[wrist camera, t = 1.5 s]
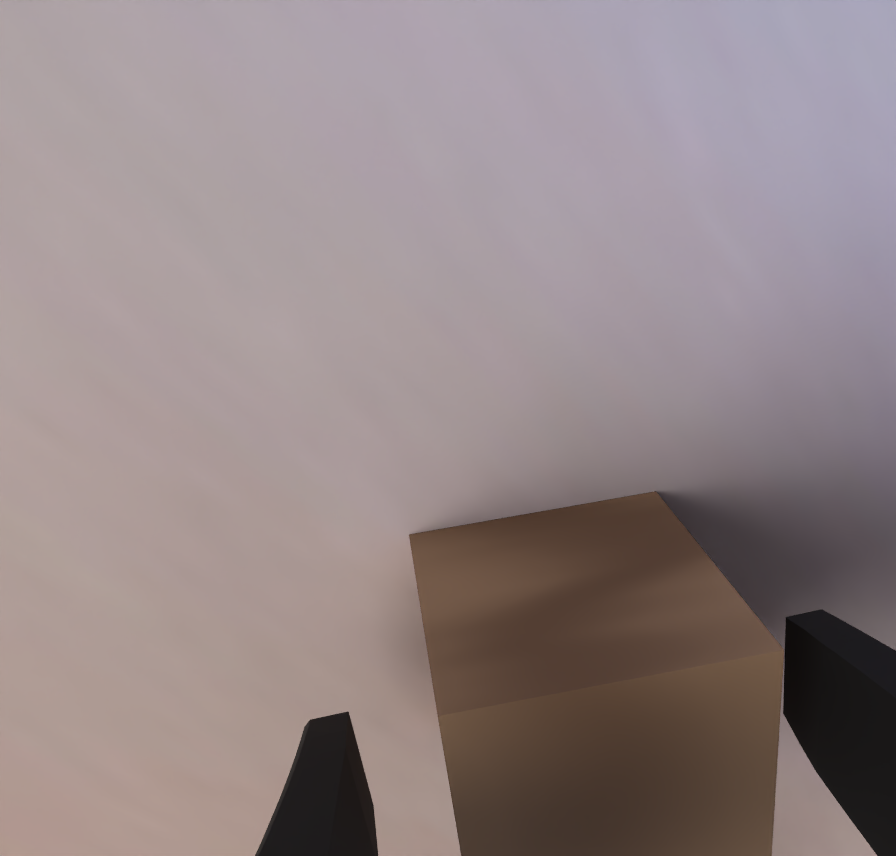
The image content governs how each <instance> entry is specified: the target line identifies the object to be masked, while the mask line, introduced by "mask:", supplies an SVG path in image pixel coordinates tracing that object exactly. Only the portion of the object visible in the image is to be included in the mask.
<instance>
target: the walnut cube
mask: <svg viewBox="0 0 896 856" xmlns="http://www.w3.org/2000/svg"><path fill="white" fill-rule="evenodd" d="M409 537H410V544H411V550H412V556H413V563H414V569H415V575H416V581H417V588H418V594H419V600H420V607H421V613H422V619H423V626H424V632H425V638H426V645H427V651H428V657H429V664H430V670H431V676H432V683H433V689H434V695H435V701H436V708H437V714H438V720H439V726H440V732H441V738H442V744H443V750H444V756H445V762H446V767H447V773H448V779H449V785H450V791H451V797H452V803H453V809H454V815H455V821H456V827H457V832H458V838H459V844H460V850H461V856H771V855H772V839H773V822H774V806H775V790H776V774H777V757H778V741H779V725H780V709H781V692H782V676H783V660H784V649H783V648H782V647H781V645H780V644H779V643H778V642H777V641H776V639H775V638H774V637H773V636H772V634H771V633H770V632H769V631H768V629H767V628H766V627H765V626H764V624H763V623H762V622H761V621H760V619H759V618H758V617H757V616H756V615H755V613H754V612H753V611H752V610H751V608H750V607H749V606H748V605H747V603H746V602H745V601H744V600H743V598H742V597H741V596H740V595H739V594H738V592H737V591H736V590H735V589H734V587H733V586H732V585H731V584H730V582H729V581H728V580H727V579H726V577H725V576H724V575H723V574H722V572H721V571H720V570H719V569H718V568H717V566H716V565H715V564H714V563H713V561H712V560H711V559H710V558H709V556H708V555H707V554H706V553H705V551H704V550H703V549H702V548H701V547H700V545H699V544H698V543H697V542H696V540H695V539H694V538H693V537H692V535H691V534H690V533H689V532H688V530H687V529H686V528H685V527H684V525H683V524H682V523H681V522H680V521H679V519H678V518H677V517H676V516H675V514H674V513H673V512H672V511H671V509H670V508H669V507H668V506H667V504H666V503H665V502H664V501H663V500H662V498H661V497H660V496H659V495H658V493H657V492H656V491H655V492H650V493H644V494H638V495H633V496H627V497H621V498H615V499H610V500H604V501H598V502H593V503H587V504H581V505H575V506H570V507H564V508H558V509H553V510H547V511H541V512H535V513H530V514H524V515H518V516H513V517H507V518H501V519H496V520H490V521H484V522H478V523H473V524H467V525H461V526H456V527H450V528H444V529H438V530H433V531H427V532H421V533H416V534H410V535H409Z"/></svg>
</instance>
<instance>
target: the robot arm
mask: <svg viewBox="0 0 896 856" xmlns="http://www.w3.org/2000/svg"><path fill="white" fill-rule="evenodd" d="M783 714H784V715H785V717H786V719H787V721H788V723H789V725H790V726H791V728H792V730H793V732H794V734H795V736H796V737H797V739H798V741H799V743H800V745H801V746H802V748H803V750H804V752H805V753H806V755H807V757H808V758H809V760H810V762H811V764H812V765H813V767H814V769H815V770H816V772H817V773H818V775H819V776H820V778H821V779H822V780H823V782H824V783H825V785H826V786H827V787H828V789H829V790H830V792H831V793H832V794H833V796H834V797H835V798H836V800H837V801H838V803H839V804H840V805H841V807H842V808H843V809H844V811H845V812H846V814H847V815H848V816H849V818H850V819H851V820H852V822H853V823H854V825H855V826H856V827H857V829H858V830H859V831H860V833H861V834H862V835H863V837H864V838H865V839H866V841H867V842H868V843H869V845H870V846H871V848H872V849H873V850H874V852H875V853H876V854H877V856H896V651H895V650H893V649H892V648H890V647H888V646H886V645H885V644H883V643H881V642H879V641H878V640H876V639H874V638H872V637H871V636H869V635H867V634H865V633H863V632H862V631H860V630H858V629H856V628H855V627H853V626H851V625H849V624H848V623H846V622H844V621H842V620H840V619H839V618H837V617H835V616H833V615H831V614H829V613H827V612H825V611H824V610H817V611H812V612H808V613H803V614H799V615H794V616H789V617H786V631H785V669H784V706H783ZM255 856H378V849H377V838H376V828H375V817H374V807H373V802H372V798H371V794H370V791H369V787H368V783H367V779H366V776H365V772H364V768H363V764H362V761H361V757H360V753H359V749H358V746H357V742H356V738H355V734H354V731H353V727H352V723H351V719H350V716H349V712H344V713H340V714H335V715H330V716H326V717H321V718H316V719H312V720H310V721H309V722H308V723H307V725H306V726H305V727H304V731H303V734H302V738H301V741H300V744H299V747H298V750H297V753H296V756H295V759H294V762H293V765H292V768H291V770H290V773H289V776H288V778H287V781H286V784H285V786H284V789H283V792H282V794H281V797H280V799H279V802H278V804H277V806H276V809H275V811H274V814H273V816H272V818H271V821H270V823H269V825H268V828H267V830H266V832H265V835H264V837H263V840H262V842H261V844H260V846H259V849H258V851H257V853H256V855H255Z"/></svg>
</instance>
